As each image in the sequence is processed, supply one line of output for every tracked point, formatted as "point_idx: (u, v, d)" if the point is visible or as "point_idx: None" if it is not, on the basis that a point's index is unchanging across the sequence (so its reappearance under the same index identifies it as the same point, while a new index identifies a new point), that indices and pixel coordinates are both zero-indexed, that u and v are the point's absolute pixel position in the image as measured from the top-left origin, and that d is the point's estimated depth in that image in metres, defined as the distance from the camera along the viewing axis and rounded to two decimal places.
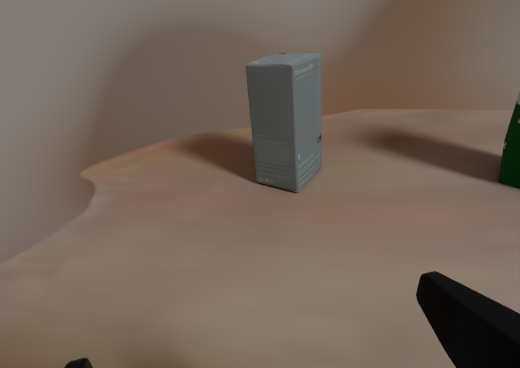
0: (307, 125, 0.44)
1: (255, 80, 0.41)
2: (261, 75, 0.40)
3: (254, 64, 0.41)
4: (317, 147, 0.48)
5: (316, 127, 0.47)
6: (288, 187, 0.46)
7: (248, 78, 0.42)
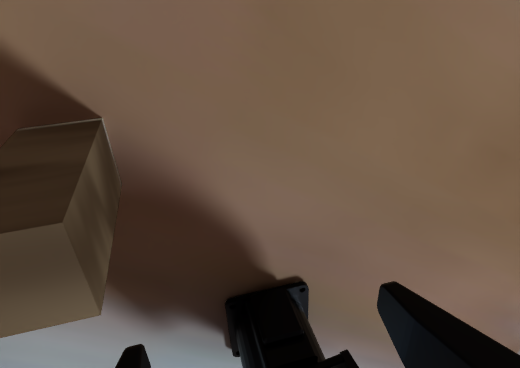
0: None
1: None
2: None
3: None
4: None
5: None
6: None
7: None
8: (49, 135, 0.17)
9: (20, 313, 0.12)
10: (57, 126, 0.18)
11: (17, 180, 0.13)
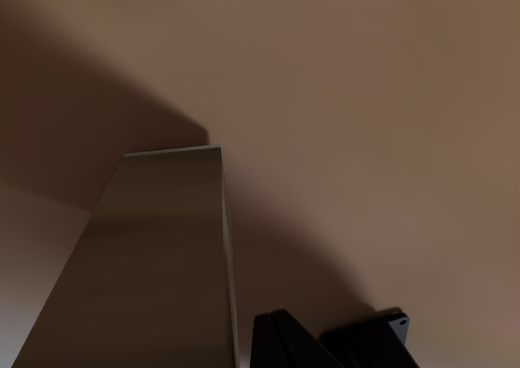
0: None
1: None
2: None
3: None
4: None
5: None
6: None
7: None
8: (164, 167, 0.13)
9: None
10: (170, 153, 0.14)
11: (140, 242, 0.10)
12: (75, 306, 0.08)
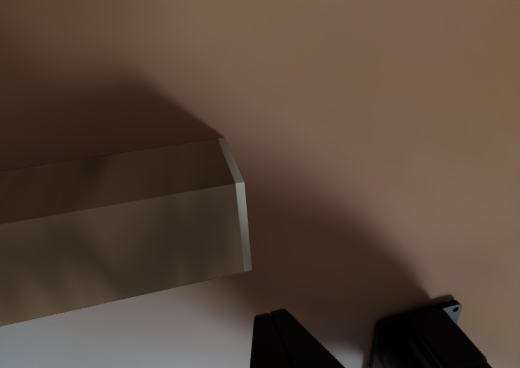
0: None
1: None
2: None
3: None
4: None
5: None
6: None
7: None
8: (189, 161, 0.13)
9: None
10: (221, 157, 0.14)
11: (65, 180, 0.13)
12: (12, 176, 0.13)
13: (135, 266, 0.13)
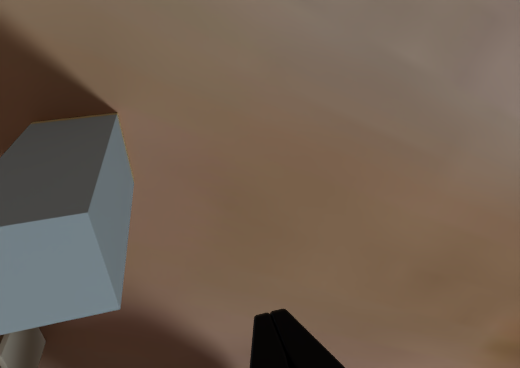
0: None
1: None
2: None
3: None
4: None
5: None
6: None
7: None
8: None
9: None
10: None
11: None
12: None
13: None
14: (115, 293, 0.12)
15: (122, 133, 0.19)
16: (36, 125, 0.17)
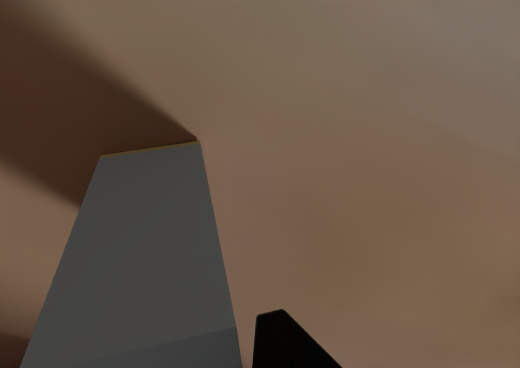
0: None
1: None
2: None
3: None
4: None
5: None
6: None
7: None
8: None
9: None
10: None
11: None
12: None
13: None
14: None
15: None
16: (107, 160, 0.14)
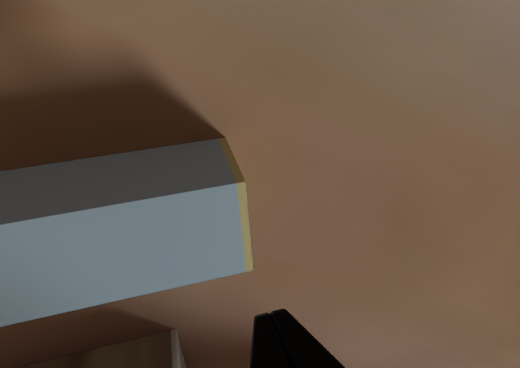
0: None
1: None
2: None
3: None
4: None
5: None
6: None
7: None
8: (145, 366, 0.18)
9: None
10: (169, 361, 0.18)
11: None
12: None
13: None
14: None
15: (247, 209, 0.13)
16: (212, 142, 0.15)
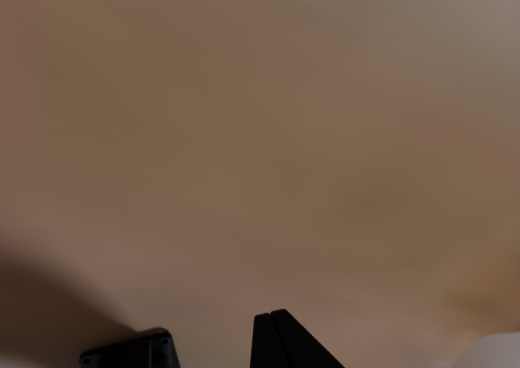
0: None
1: None
2: None
3: None
4: None
5: None
6: None
7: None
8: None
9: None
10: None
11: None
12: None
13: None
14: None
15: None
16: None
